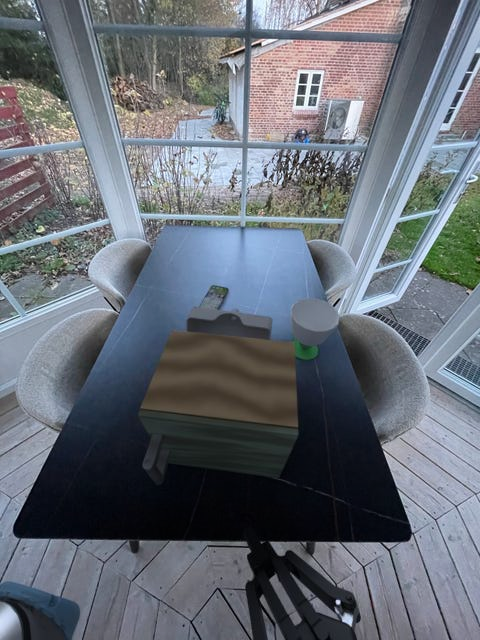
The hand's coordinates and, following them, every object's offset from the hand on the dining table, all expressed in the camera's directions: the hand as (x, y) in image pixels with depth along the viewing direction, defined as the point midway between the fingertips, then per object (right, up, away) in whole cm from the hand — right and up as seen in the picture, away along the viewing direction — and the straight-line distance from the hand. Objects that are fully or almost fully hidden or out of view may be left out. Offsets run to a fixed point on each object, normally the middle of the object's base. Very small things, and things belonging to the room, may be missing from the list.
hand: (249, 535), depth 42 cm
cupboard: (-5, +7, +25) cm, 27 cm away
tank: (-5, +27, +45) cm, 53 cm away
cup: (+19, +25, +44) cm, 54 cm away
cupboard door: (-6, -2, +16) cm, 18 cm away
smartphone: (-11, +42, +60) cm, 74 cm away
